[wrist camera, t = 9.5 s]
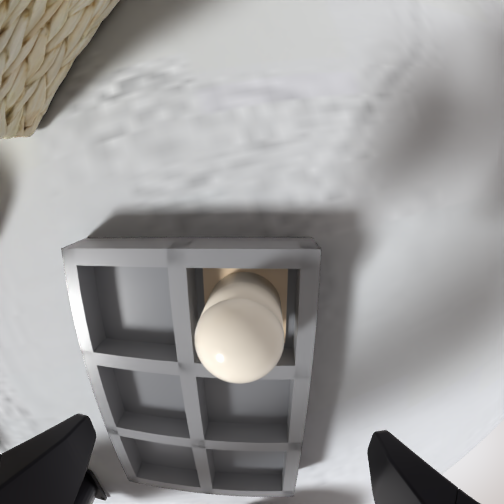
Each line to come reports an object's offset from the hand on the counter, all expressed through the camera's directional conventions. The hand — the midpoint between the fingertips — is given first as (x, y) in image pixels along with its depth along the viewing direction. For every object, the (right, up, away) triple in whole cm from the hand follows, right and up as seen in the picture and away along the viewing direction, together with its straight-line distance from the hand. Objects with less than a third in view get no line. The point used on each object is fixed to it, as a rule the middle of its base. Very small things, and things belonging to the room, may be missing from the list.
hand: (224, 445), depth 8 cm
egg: (0, +3, +10) cm, 11 cm away
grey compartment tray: (-3, -4, +13) cm, 14 cm away
